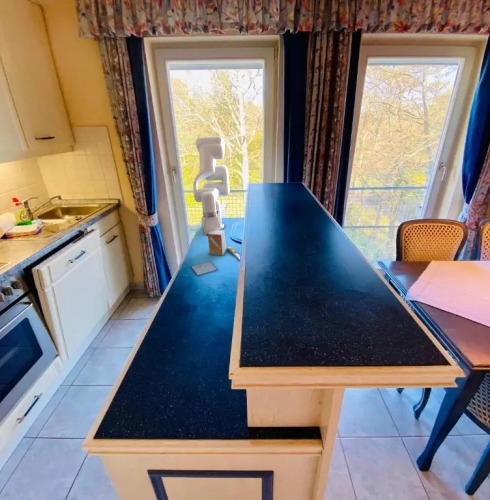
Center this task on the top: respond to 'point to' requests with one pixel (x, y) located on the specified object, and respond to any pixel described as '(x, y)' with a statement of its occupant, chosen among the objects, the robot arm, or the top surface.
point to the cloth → (203, 268)
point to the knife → (233, 252)
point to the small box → (217, 242)
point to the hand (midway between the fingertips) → (213, 243)
